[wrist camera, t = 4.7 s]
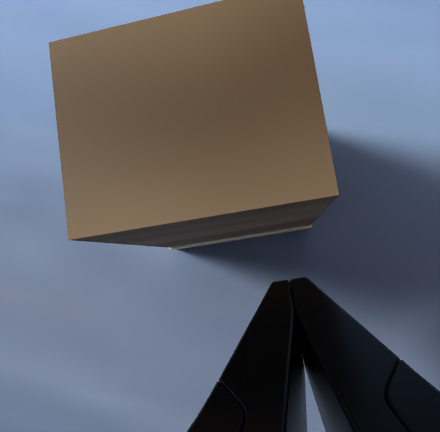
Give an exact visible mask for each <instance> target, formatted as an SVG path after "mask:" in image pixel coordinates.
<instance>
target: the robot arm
mask: <svg viewBox="0 0 440 432" xmlns="http://www.w3.org/2000/svg"><path fill="white" fill-rule="evenodd" d="M290 287H291V288H290ZM301 349H302V350H301ZM302 355H303V356H302ZM303 360H304V362H303ZM304 364H305V368H306V372H307V375H308V378H309V381H310V384H311V387H312V391H313V394H314V397H315V400H316V403H317V406H318V409H319V412H320V415H321V418H322V421H323V424H324V427H325V430H326V432H440V391H438V390H437V389H436V388H435V387H434V386H432V385H431V384H430V383H429V382H428V381H426V380H425V379H424V378H423V377H421V376H420V375H419V374H418V373H417V372H415V371H414V370H413V369H412V368H411V367H410V366H409V365H407V364H406V363H405V362H404V361H403V360H400V359H399V357H397V356H396V355H395V354H394V353H393V352H392V351H391V350H389V349H388V348H387V347H386V346H385V345H384V344H382V343H381V342H380V341H379V340H378V339H377V338H376V337H374V336H373V335H372V334H371V333H370V332H369V331H368V330H366V329H365V328H364V327H363V326H362V325H361V324H359V323H358V322H357V321H356V320H355V319H354V318H353V317H351V316H350V315H349V314H348V313H347V312H346V311H345V310H343V309H342V308H341V307H340V306H339V305H338V304H337V303H335V302H334V301H333V300H332V299H331V298H330V297H328V296H327V295H326V294H325V293H324V292H323V291H322V290H320V289H319V288H318V287H317V286H316V285H315V284H314V283H312V282H311V281H310V280H309V279H308V278H306V277H303V278H297V279H291V280H290V283H289V281H288V280H283V281H277V282H273V283H272V284H271V285H270V287H269V289H268V291H267V293H266V294H265V296H264V298H263V300H262V302H261V304H260V305H259V307H258V309H257V311H256V313H255V315H254V316H253V318H252V320H251V322H250V324H249V325H248V327H247V329H246V331H245V333H244V335H243V336H242V338H241V340H240V342H239V344H238V346H237V347H236V349H235V351H234V353H233V355H232V357H231V358H230V360H229V362H228V364H227V366H226V367H225V369H224V371H223V373H222V375H221V377H220V378H219V382H217V383H216V385H215V387H214V388H213V390H212V392H211V394H210V396H209V397H208V399H207V401H206V403H205V404H204V406H203V408H202V409H201V411H200V413H199V414H198V416H197V418H196V419H195V421H194V422H193V423H192V425H191V426H190V428H189V429H188V431H187V432H307V417H306V393H305V372H304Z"/></svg>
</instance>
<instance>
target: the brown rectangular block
mask: <svg viewBox="0 0 440 432" xmlns="http://www.w3.org/2000/svg"><path fill="white" fill-rule="evenodd" d="M49 49H50V59H51V69H52V79H53V89H54V99H55V109H56V119H57V129H58V139H59V149H60V159H61V169H62V179H63V189H64V199H65V209H66V218H67V228H68V238H69V240H75V241H89V242H103V243H116V244H130V245H143V246H157V247H168V248H169V249H176V250H178V249H184V248H190V247H197V246H203V245H210V244H216V243H222V242H229V241H235V240H242V239H248V238H254V237H261V236H267V235H273V234H280V233H286V232H293V231H299V230H305V229H310V228H311V227H312V223H313V222H314V221H315V220H316V219H317V218H318V217H319V216H320V215H321V214H322V213H323V212H324V211H325V210H326V208H327V207H328V206H329V205H330V204H331V203H332V202H333V201H334V200H335V199H336V198H337V197H338V196H339V191H338V186H337V181H336V175H335V170H334V165H333V159H332V154H331V149H330V143H329V138H328V133H327V127H326V122H325V117H324V111H323V106H322V101H321V95H320V90H319V85H318V79H317V74H316V69H315V63H314V58H313V53H312V47H311V42H310V37H309V31H308V26H307V21H306V15H305V10H304V5H303V0H223V1H219V2H215V3H210V4H206V5H202V6H198V7H194V8H190V9H186V10H182V11H178V12H173V13H169V14H165V15H161V16H157V17H153V18H149V19H145V20H140V21H136V22H132V23H128V24H124V25H120V26H116V27H112V28H108V29H103V30H99V31H95V32H91V33H87V34H83V35H79V36H75V37H70V38H66V39H62V40H58V41H54V42H50V43H49Z"/></svg>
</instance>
